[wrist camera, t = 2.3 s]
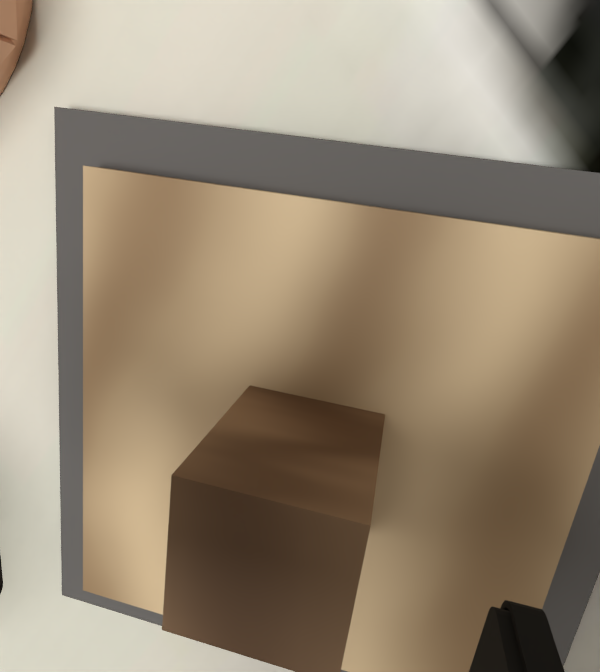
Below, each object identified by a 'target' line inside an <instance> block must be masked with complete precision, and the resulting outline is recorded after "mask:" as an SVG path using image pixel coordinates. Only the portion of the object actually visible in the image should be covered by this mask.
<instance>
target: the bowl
mask: <svg viewBox="0 0 600 672" xmlns="http://www.w3.org/2000/svg"><path fill="white" fill-rule="evenodd" d="M32 2H33V0H0V95H1V93H2V92H3V90H4V88H5V86H6V85H7V83H8V81H9V79H10V77H11V75H12V73H13V71H14V69H15V67H16V64H17V61H18V59H19V56H20V53H21V50H22V48H23V45H24V42H25V37H26V33H27V29H28V25H29V21H30V16H31V10H32Z"/></svg>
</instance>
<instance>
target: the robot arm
mask: <svg viewBox="0 0 600 672" xmlns="http://www.w3.org/2000/svg"><path fill="white" fill-rule="evenodd" d="M2 587H3V580H2V568H1V557H0V593H1V591H2ZM469 672H564V669H563V666H562V663H561V659H560V656H559V653H558V650H557V647H556V644H555V641H554V638H553V635H552V632H551V628H550V625H549V622H548V619H547V617H546V614H545V612H544V611H543V610H542V609H539V608H535V607H531V606H527V605H523V604H520V603H516V602H512V601H508V600H505V601H504V602H503V603H502V605H501V608H497V607H491V608H490V609H489V612H488V615H487V618H486V621H485V624H484V627H483V630H482V633H481V636H480V639H479V642H478V645H477V648H476V651H475V655H474V658H473V661H472V664H471V667H470V670H469Z"/></svg>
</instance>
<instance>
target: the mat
mask: <svg viewBox="0 0 600 672" xmlns="http://www.w3.org/2000/svg"><path fill="white" fill-rule="evenodd" d="M54 109H55V173H56V238H57V302H58V366H59V430H60V494H61V558H62V595H64V596H68V597H71V598H74V599H77V600H80V601H84V602H87V603H90V604H93V605H96V606H100V607H103V608H106V609H109V610H113V611H116V612H119V613H122V614H125V615H129V616H132V617H135V618H138V619H141V620H145V621H148V622H151V623H154V624H157V625H161V626H162V621H163V615H162V614H159V613H155V612H152V611H149V610H146V609H142V608H139V607H136V606H133V605H129V604H126V603H123V602H120V601H116V600H113V599H110V598H107V597H103V596H100V595H97V594H94V593H90V592H87V591H84V590H83V166H92V167H102V168H109V169H116V170H123V171H130V172H137V173H144V174H151V175H158V176H165V177H172V178H179V179H186V180H193V181H200V182H207V183H214V184H221V185H228V186H235V187H242V188H249V189H256V190H263V191H270V192H277V193H284V194H291V195H298V196H305V197H312V198H319V199H326V200H333V201H340V202H347V203H354V204H361V205H368V206H375V207H382V208H389V209H396V210H403V211H410V212H417V213H424V214H432V215H439V216H446V217H453V218H460V219H467V220H474V221H481V222H488V223H495V224H502V225H509V226H516V227H523V228H530V229H537V230H544V231H551V232H558V233H565V234H572V235H579V236H586V237H593V238H600V173H595V172H587V171H578V170H570V169H562V168H554V167H546V166H537V165H529V164H521V163H513V162H504V161H496V160H488V159H480V158H471V157H463V156H455V155H447V154H438V153H430V152H422V151H414V150H406V149H397V148H389V147H381V146H373V145H364V144H356V143H348V142H340V141H331V140H323V139H315V138H307V137H298V136H290V135H282V134H274V133H266V132H257V131H249V130H241V129H233V128H224V127H216V126H208V125H200V124H191V123H183V122H175V121H167V120H159V119H150V118H142V117H134V116H126V115H117V114H109V113H101V112H93V111H84V110H76V109H68V108H60V107H54ZM599 572H600V446H599V448H598V451H597V454H596V457H595V460H594V463H593V466H592V468H591V471H590V474H589V477H588V480H587V483H586V485H585V488H584V491H583V494H582V497H581V500H580V503H579V505H578V508H577V511H576V514H575V517H574V520H573V522H572V525H571V528H570V531H569V534H568V537H567V539H566V542H565V545H564V548H563V551H562V554H561V557H560V559H559V562H558V565H557V568H556V571H555V574H554V576H553V579H552V582H551V585H550V588H549V591H548V594H547V596H546V599H545V602H544V605H543V608H542V610H543V611H544V612H545V614H546V617H547V619H548V622H549V625H550V628H551V632H552V635H553V638H554V641H555V644H556V647H557V650H558V653H559V656H560V659H561V663H562V666H563V665H564V663H565V660H566V658H567V655H568V652H569V650H570V647H571V645H572V642H573V639H574V637H575V634H576V632H577V629H578V626H579V624H580V621H581V619H582V616H583V613H584V611H585V608H586V606H587V603H588V600H589V598H590V595H591V593H592V590H593V587H594V585H595V582H596V580H597V577H598V574H599ZM340 672H348V671H344V670H341V671H340Z"/></svg>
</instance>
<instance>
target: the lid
mask: <svg viewBox="0 0 600 672" xmlns="http://www.w3.org/2000/svg"><path fill="white" fill-rule="evenodd" d="M599 446H600V238H593V237H586V236H579V235H572V234H565V233H558V232H551V231H544V230H537V229H530V228H523V227H516V226H509V225H502V224H495V223H488V222H481V221H474V220H467V219H460V218H453V217H446V216H439V215H432V214H424V213H417V212H410V211H403V210H396V209H389V208H382V207H375V206H368V205H361V204H354V203H347V202H340V201H333V200H326V199H319V198H312V197H305V196H298V195H291V194H284V193H277V192H270V191H263V190H256V189H249V188H242V187H235V186H228V185H221V184H214V183H207V182H200V181H193V180H186V179H179V178H172V177H165V176H158V175H151V174H144V173H137V172H130V171H123V170H116V169H109V168H102V167H92V166H83V590H84V591H87V592H90V593H94V594H97V595H100V596H103V597H107V598H110V599H113V600H116V601H120V602H123V603H126V604H129V605H133V606H136V607H139V608H142V609H146V610H149V611H152V612H155V613H159V614H162V615H163V621H162V630H164V631H167V632H171V633H174V634H177V635H180V636H183V637H187V638H190V639H193V640H196V641H199V642H203V643H206V644H209V645H212V646H215V647H219V648H222V649H225V650H228V651H231V652H235V653H238V654H241V655H244V656H247V657H251V658H254V659H257V660H260V661H263V662H267V663H270V664H273V665H276V666H279V667H283V668H286V669H289V670H292V671H295V672H340V671H341V670H344V671H348V672H469V670H470V667H471V664H472V661H473V658H474V655H475V651H476V648H477V645H478V642H479V639H480V636H481V633H482V630H483V627H484V624H485V621H486V618H487V615H488V612H489V609H490V608H491V607H497V608H501V605H502V603H503V602H504V601H505V600H508V601H512V602H516V603H520V604H523V605H527V606H531V607H535V608H539V609H542V608H543V605H544V602H545V599H546V596H547V594H548V591H549V588H550V585H551V582H552V579H553V576H554V574H555V571H556V568H557V565H558V562H559V559H560V557H561V554H562V551H563V548H564V545H565V542H566V539H567V537H568V534H569V531H570V528H571V525H572V522H573V520H574V517H575V514H576V511H577V508H578V505H579V503H580V500H581V497H582V494H583V491H584V488H585V485H586V483H587V480H588V477H589V474H590V471H591V468H592V466H593V463H594V460H595V457H596V454H597V451H598V448H599Z"/></svg>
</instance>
